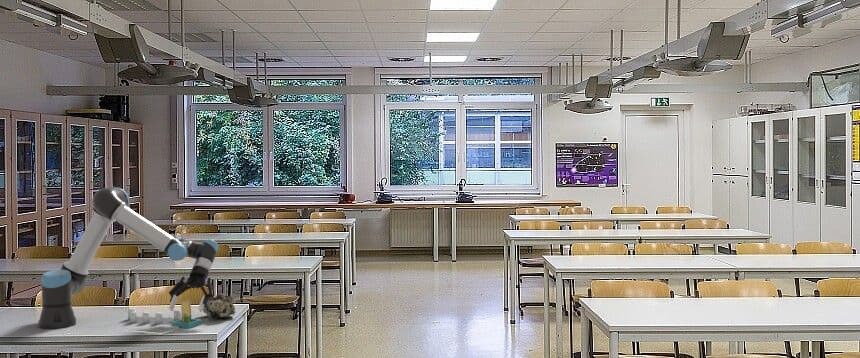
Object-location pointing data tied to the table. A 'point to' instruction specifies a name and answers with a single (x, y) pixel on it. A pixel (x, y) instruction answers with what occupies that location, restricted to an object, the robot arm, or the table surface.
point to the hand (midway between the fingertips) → (185, 309)
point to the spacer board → (151, 318)
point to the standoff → (186, 311)
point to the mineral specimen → (219, 306)
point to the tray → (187, 325)
